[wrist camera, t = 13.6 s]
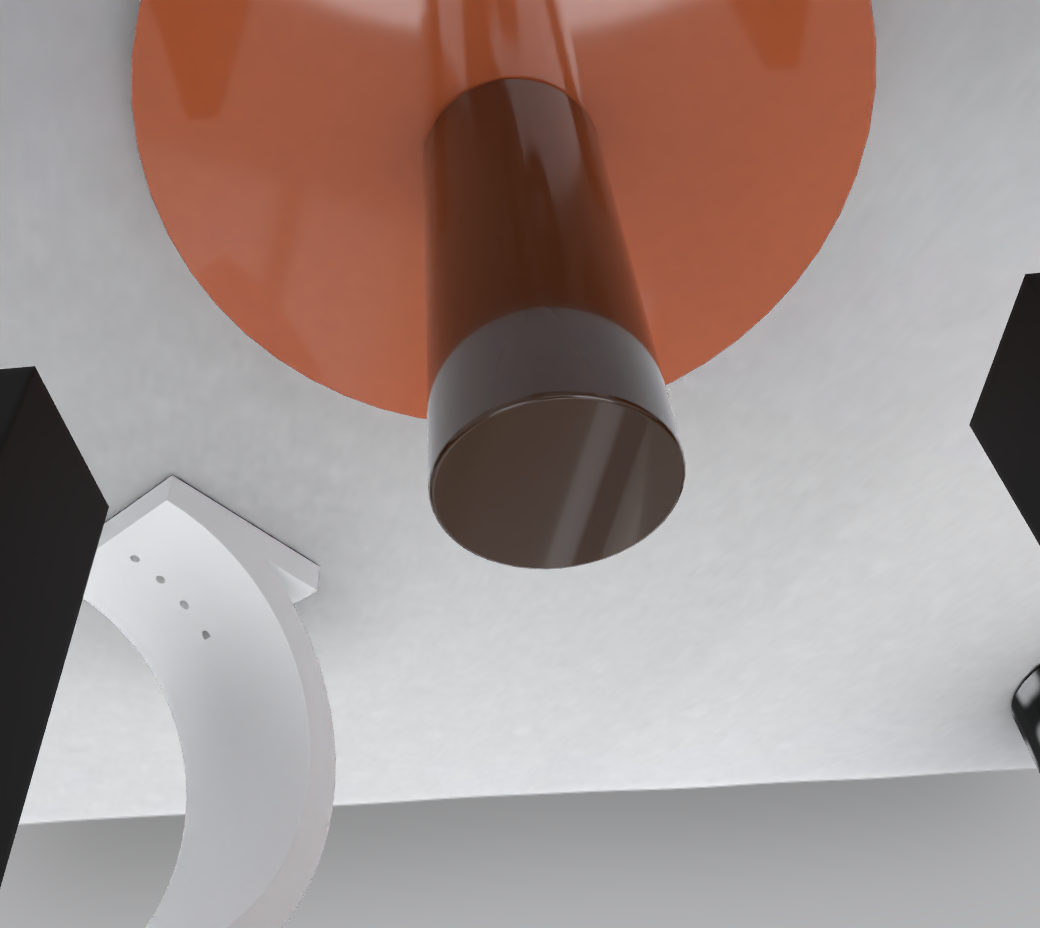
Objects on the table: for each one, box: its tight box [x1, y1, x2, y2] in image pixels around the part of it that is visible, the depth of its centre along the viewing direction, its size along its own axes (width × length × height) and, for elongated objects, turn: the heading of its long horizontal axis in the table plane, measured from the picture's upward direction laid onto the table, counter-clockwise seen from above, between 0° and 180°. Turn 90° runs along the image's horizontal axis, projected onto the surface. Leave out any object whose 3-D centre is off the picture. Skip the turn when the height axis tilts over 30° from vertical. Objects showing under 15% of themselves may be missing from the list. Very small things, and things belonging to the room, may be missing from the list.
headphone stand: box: [83, 475, 336, 928], centre depth 23 cm, size 5×6×12 cm
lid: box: [131, 0, 876, 569], centre depth 15 cm, size 13×13×9 cm
